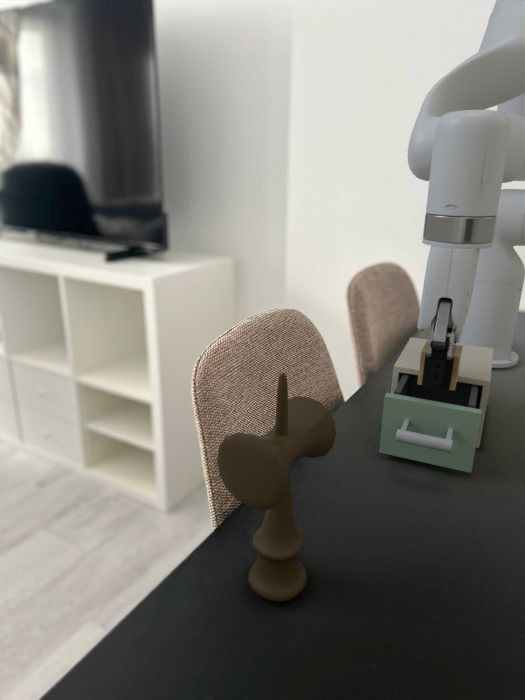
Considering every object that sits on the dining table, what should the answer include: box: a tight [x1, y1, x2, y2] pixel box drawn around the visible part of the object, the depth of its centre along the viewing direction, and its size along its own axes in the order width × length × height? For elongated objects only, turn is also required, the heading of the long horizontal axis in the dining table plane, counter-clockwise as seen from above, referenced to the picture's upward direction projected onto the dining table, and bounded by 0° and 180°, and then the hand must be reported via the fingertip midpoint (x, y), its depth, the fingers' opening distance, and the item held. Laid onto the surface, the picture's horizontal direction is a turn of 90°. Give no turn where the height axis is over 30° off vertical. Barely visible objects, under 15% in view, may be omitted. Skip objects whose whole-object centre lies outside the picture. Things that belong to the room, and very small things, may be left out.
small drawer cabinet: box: [390, 336, 493, 449], centre depth 74 cm, size 14×12×10 cm
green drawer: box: [378, 373, 482, 474], centre depth 65 cm, size 18×11×8 cm, turn 156°
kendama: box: [216, 372, 337, 603], centre depth 42 cm, size 6×10×20 cm, turn 146°
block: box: [417, 341, 463, 391], centre depth 63 cm, size 4×4×4 cm
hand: (438, 378), depth 64 cm, fingers closed on block, 4 cm apart
